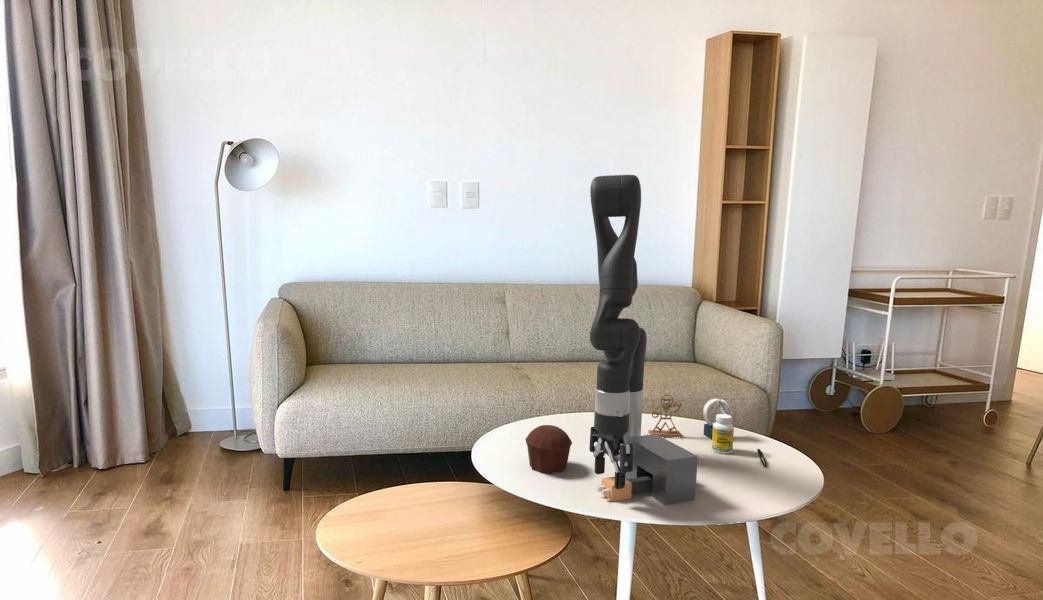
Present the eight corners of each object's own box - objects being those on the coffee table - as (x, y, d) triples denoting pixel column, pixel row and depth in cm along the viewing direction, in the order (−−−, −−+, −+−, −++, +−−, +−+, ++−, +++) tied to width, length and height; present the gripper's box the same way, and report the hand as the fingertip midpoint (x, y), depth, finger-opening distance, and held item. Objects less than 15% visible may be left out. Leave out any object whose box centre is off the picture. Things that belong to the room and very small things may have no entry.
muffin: (580, 471, 166) (581, 431, 165) (540, 478, 161) (541, 437, 159) (554, 455, 176) (555, 418, 175) (516, 462, 171) (517, 423, 170)
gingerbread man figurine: (650, 437, 193) (652, 395, 192) (647, 433, 197) (649, 392, 195) (682, 438, 193) (684, 396, 192) (678, 433, 197) (681, 392, 195)
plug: (594, 494, 152) (595, 479, 152) (685, 479, 162) (686, 465, 162) (605, 502, 148) (605, 487, 148) (697, 486, 158) (698, 472, 158)
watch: (733, 439, 193) (736, 401, 192) (707, 441, 191) (710, 402, 190) (722, 433, 198) (725, 396, 197) (697, 434, 196) (700, 397, 195)
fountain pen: (755, 450, 185) (755, 445, 185) (760, 450, 185) (760, 445, 185) (763, 469, 171) (763, 463, 171) (768, 469, 171) (768, 464, 171)
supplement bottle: (729, 448, 186) (732, 413, 184) (734, 454, 180) (736, 419, 179) (709, 447, 186) (711, 412, 185) (713, 453, 181) (716, 418, 179)
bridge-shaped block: (625, 478, 162) (626, 437, 161) (653, 474, 165) (655, 433, 164) (664, 505, 148) (667, 460, 146) (695, 500, 151) (697, 456, 149)
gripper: (581, 402, 154) (578, 471, 156) (614, 420, 141) (611, 496, 143) (610, 398, 157) (607, 466, 159) (645, 416, 144) (641, 490, 146)
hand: (609, 480), depth 151 cm, fingers open, 8 cm apart
